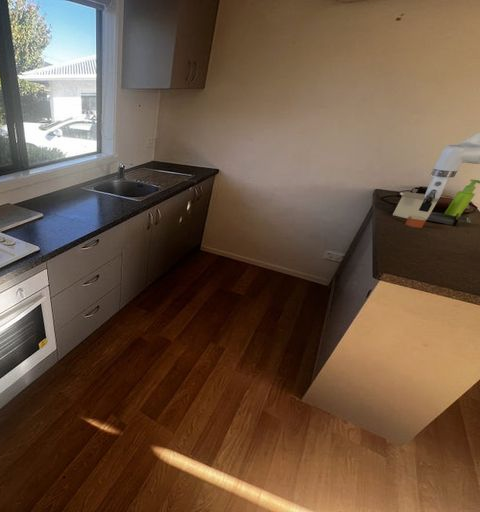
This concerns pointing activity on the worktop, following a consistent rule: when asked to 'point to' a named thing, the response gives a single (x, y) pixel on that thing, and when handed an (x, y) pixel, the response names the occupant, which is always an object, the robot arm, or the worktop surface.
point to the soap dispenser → (461, 200)
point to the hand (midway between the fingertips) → (424, 208)
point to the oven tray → (447, 218)
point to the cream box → (412, 206)
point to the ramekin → (415, 221)
